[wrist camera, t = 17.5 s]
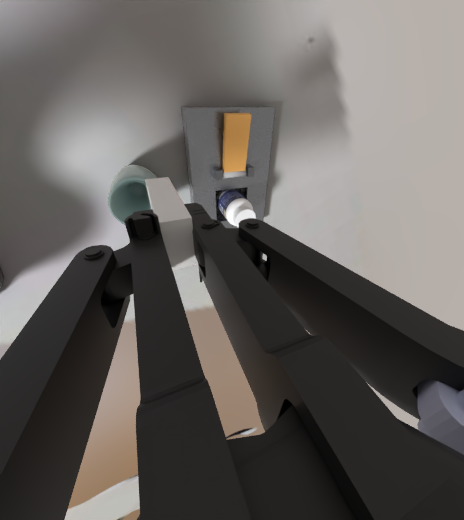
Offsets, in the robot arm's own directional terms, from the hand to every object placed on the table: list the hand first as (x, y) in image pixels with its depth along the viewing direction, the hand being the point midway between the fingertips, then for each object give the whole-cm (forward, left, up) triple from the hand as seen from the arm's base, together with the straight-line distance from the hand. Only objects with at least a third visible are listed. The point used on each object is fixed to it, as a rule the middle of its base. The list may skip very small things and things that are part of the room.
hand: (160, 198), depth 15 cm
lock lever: (+14, -1, -23) cm, 27 cm away
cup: (-2, -7, -27) cm, 28 cm away
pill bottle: (+14, -12, -27) cm, 33 cm away
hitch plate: (+14, -7, -27) cm, 31 cm away
